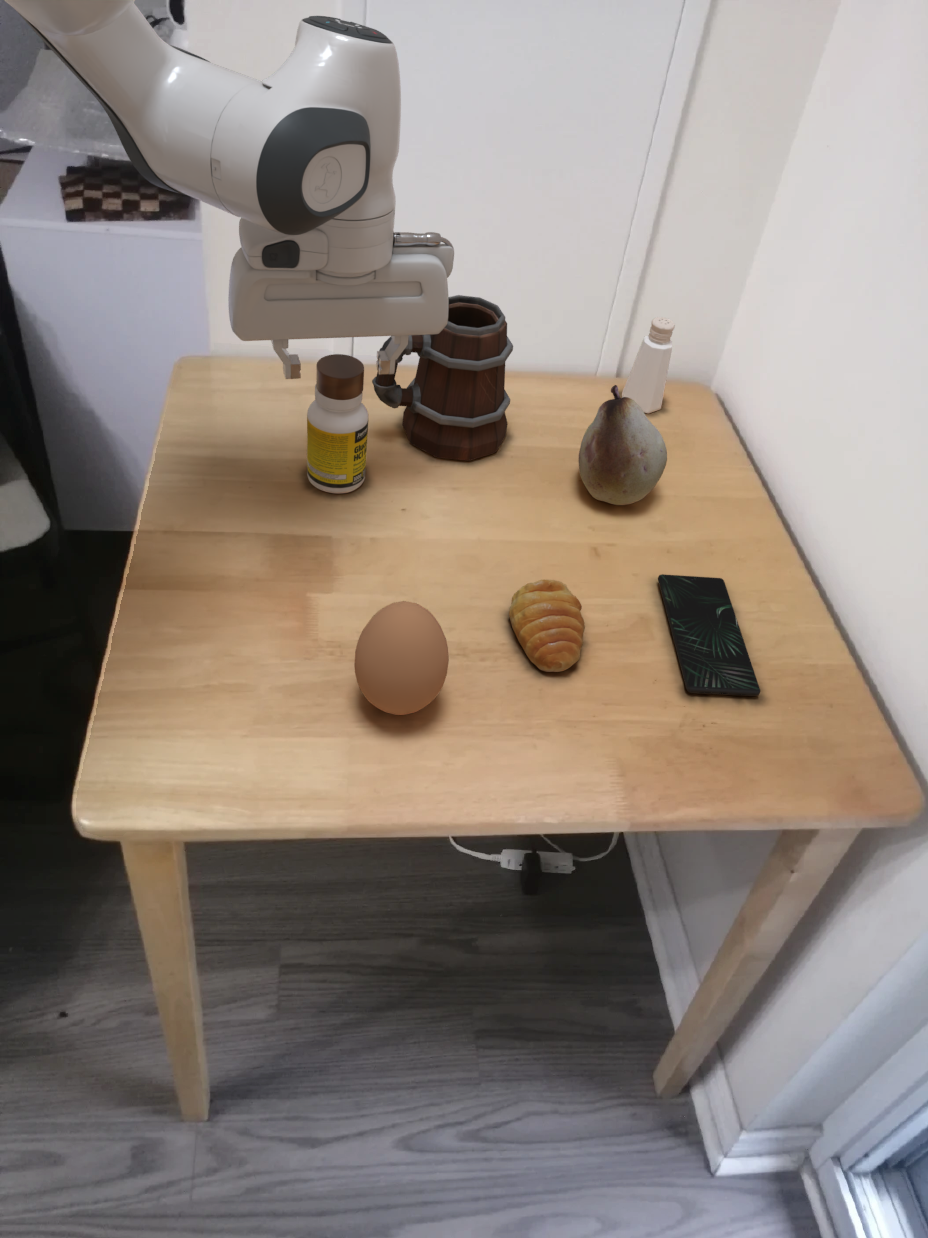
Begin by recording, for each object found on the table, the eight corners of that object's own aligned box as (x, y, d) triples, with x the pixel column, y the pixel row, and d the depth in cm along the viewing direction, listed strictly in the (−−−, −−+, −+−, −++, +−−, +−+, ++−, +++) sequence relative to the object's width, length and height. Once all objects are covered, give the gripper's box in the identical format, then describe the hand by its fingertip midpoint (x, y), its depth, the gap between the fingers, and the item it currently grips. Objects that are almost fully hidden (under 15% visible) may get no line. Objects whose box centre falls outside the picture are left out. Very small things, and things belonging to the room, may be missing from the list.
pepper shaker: (613, 391, 120) (634, 310, 112) (652, 389, 121) (675, 310, 114) (628, 414, 116) (651, 333, 109) (668, 413, 118) (693, 332, 110)
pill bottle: (362, 498, 98) (367, 407, 91) (303, 492, 98) (303, 400, 90) (367, 464, 103) (372, 374, 95) (311, 458, 102) (311, 367, 95)
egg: (342, 726, 77) (345, 634, 69) (364, 660, 82) (370, 568, 75) (432, 745, 77) (446, 655, 69) (449, 678, 82) (463, 587, 74)
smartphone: (688, 688, 83) (658, 572, 94) (685, 696, 84) (655, 580, 94) (762, 692, 84) (724, 577, 94) (758, 699, 85) (721, 584, 95)
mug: (484, 401, 115) (502, 283, 104) (516, 458, 107) (539, 338, 96) (359, 408, 110) (364, 287, 100) (382, 469, 102) (390, 344, 92)
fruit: (580, 455, 109) (602, 362, 100) (659, 475, 108) (689, 383, 99) (563, 505, 102) (586, 410, 93) (648, 528, 100) (679, 433, 92)
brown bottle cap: (320, 401, 90) (321, 379, 89) (312, 376, 93) (312, 354, 92) (367, 399, 92) (368, 377, 90) (357, 374, 95) (358, 352, 93)
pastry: (593, 676, 84) (602, 647, 81) (519, 678, 83) (526, 649, 80) (571, 603, 91) (579, 574, 88) (503, 604, 90) (509, 574, 87)
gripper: (447, 217, 87) (433, 352, 96) (220, 217, 81) (230, 361, 91) (466, 247, 83) (449, 385, 92) (229, 249, 77) (237, 396, 87)
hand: (339, 373), depth 92 cm, fingers open, 8 cm apart
